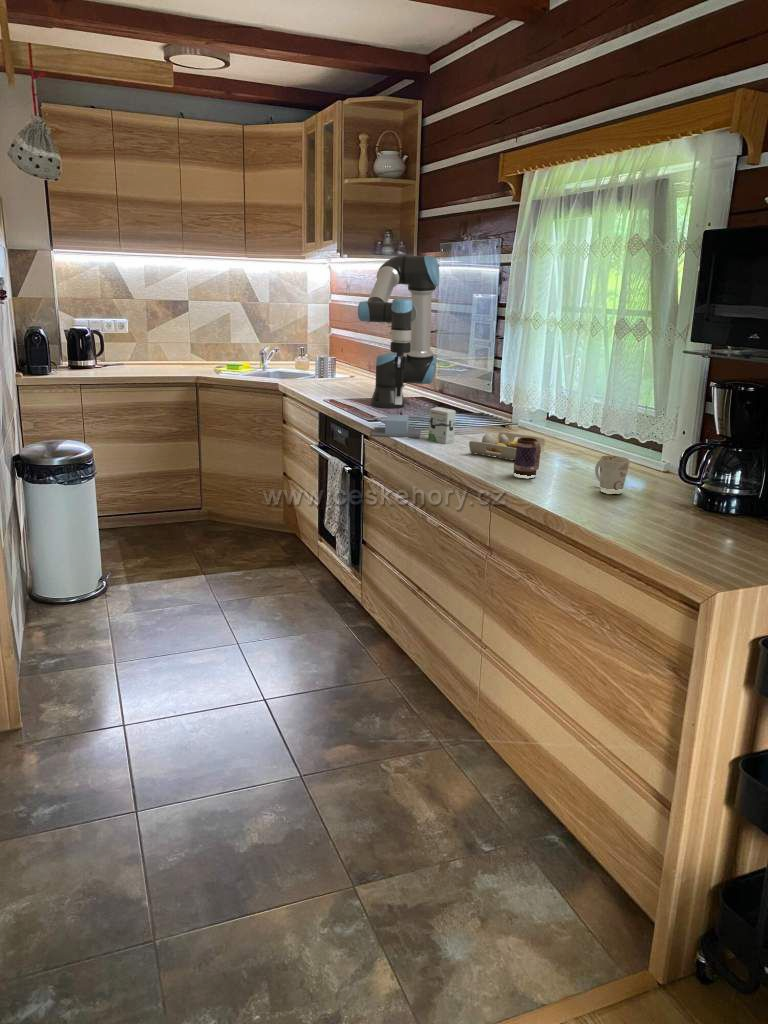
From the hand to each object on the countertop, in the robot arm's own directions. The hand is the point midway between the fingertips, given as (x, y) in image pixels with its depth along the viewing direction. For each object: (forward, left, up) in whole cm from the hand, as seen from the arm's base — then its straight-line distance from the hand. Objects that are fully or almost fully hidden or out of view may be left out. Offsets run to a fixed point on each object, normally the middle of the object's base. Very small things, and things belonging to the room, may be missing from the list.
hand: (398, 404), depth 301 cm
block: (-2, 0, -7) cm, 7 cm away
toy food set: (+29, +40, -11) cm, 51 cm away
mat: (+6, 0, -10) cm, 12 cm away
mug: (+73, +66, -10) cm, 99 cm away
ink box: (+17, +17, -10) cm, 26 cm away
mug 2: (+63, +44, -10) cm, 78 cm away
